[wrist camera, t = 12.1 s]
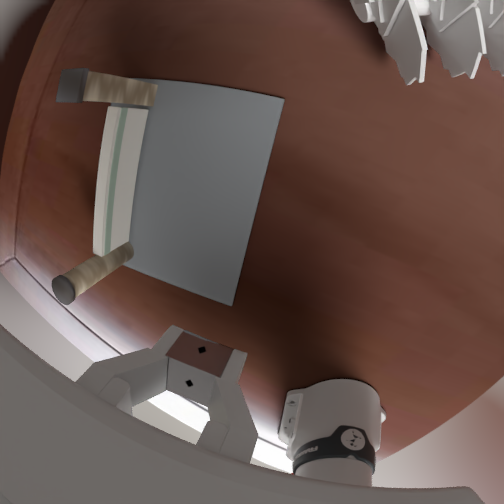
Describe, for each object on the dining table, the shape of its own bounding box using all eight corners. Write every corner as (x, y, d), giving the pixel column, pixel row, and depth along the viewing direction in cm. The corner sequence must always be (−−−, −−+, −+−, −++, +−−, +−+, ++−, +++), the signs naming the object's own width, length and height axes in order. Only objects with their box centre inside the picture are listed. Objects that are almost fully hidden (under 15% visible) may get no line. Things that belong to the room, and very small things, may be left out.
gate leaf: (129, 241, 42) (102, 257, 36) (120, 237, 42) (92, 252, 36) (149, 109, 34) (118, 107, 28) (138, 108, 34) (107, 106, 28)
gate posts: (136, 262, 44) (72, 309, 31) (118, 255, 44) (53, 298, 31) (162, 84, 33) (84, 67, 20) (140, 82, 34) (61, 69, 20)
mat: (232, 304, 42) (231, 306, 42) (98, 252, 45) (97, 253, 45) (284, 99, 31) (284, 99, 31) (118, 78, 34) (116, 77, 34)
